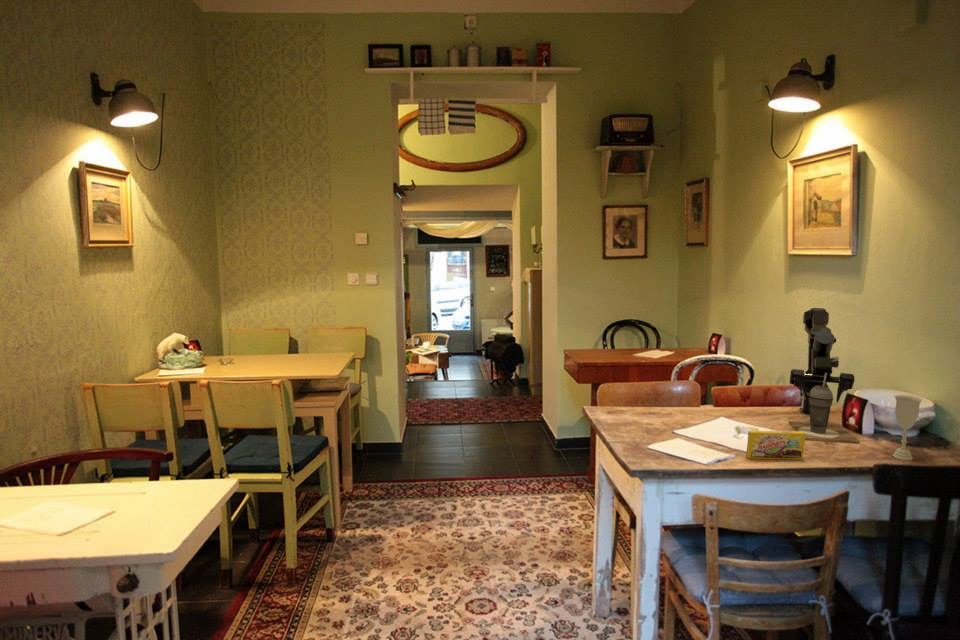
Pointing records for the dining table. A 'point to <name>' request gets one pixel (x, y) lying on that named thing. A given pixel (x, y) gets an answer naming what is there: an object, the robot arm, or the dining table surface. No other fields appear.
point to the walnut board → (832, 433)
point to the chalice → (906, 421)
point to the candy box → (775, 445)
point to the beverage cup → (820, 407)
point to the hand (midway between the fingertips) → (821, 400)
